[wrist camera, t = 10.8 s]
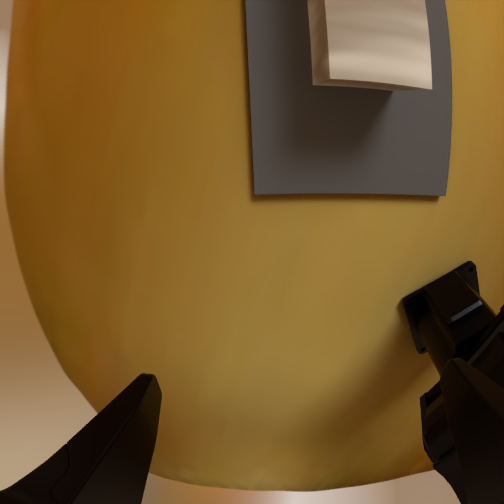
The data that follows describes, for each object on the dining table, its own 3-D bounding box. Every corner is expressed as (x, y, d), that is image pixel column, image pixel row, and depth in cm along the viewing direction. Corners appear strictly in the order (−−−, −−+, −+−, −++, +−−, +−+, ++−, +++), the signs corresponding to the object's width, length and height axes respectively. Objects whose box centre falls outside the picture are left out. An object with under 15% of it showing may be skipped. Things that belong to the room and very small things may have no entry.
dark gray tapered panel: (441, 193, 18) (445, 196, 17) (254, 191, 18) (254, 194, 18) (428, -58, 10) (431, -61, 9) (241, -81, 11) (240, -86, 10)
